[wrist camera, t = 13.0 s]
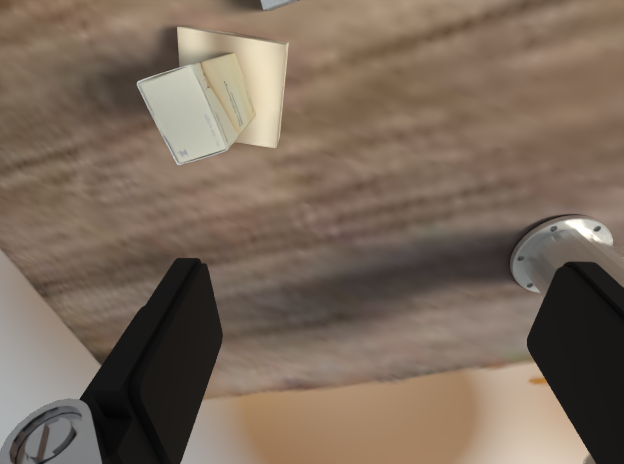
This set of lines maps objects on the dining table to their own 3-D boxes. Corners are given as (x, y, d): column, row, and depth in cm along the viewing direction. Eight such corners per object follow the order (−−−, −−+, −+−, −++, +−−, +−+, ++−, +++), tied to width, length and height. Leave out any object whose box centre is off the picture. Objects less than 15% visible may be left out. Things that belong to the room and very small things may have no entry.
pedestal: (289, 41, 36) (285, 44, 32) (279, 137, 41) (275, 148, 38) (191, 25, 35) (177, 26, 32) (194, 124, 40) (183, 134, 37)
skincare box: (257, 115, 36) (232, 153, 25) (218, 126, 36) (177, 169, 26) (234, 48, 33) (193, 62, 22) (191, 63, 33) (133, 82, 23)
